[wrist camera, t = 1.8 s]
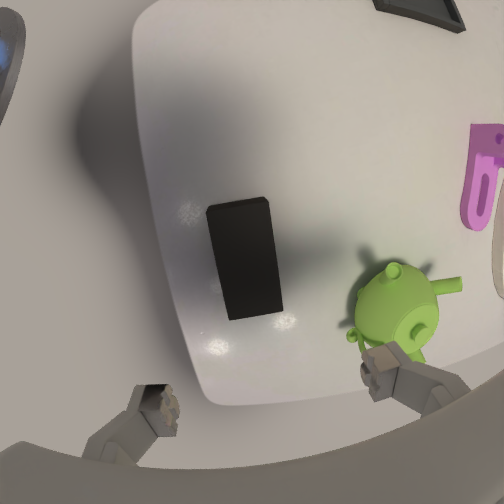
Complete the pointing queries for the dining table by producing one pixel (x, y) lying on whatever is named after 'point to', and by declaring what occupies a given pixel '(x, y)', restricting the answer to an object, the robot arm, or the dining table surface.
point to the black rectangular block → (245, 257)
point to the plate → (499, 246)
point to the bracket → (482, 174)
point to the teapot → (399, 309)
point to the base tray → (426, 12)
